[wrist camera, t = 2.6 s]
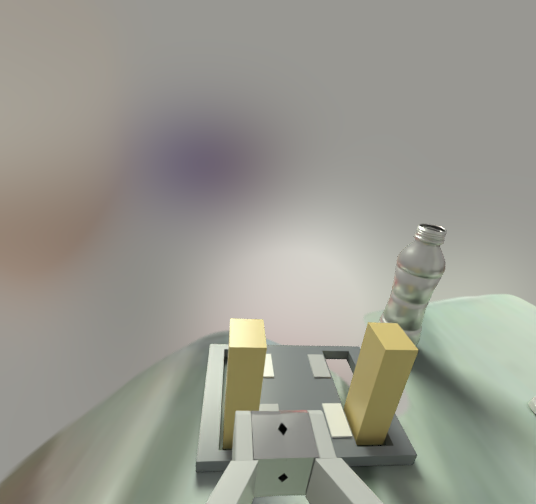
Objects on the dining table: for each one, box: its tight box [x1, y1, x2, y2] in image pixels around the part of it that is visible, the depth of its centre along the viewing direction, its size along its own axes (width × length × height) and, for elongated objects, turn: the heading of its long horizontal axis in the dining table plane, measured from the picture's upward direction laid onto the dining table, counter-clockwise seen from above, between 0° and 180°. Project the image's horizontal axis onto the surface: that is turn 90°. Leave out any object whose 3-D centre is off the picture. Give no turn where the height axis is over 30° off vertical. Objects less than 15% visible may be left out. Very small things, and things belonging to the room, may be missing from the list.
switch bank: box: [196, 344, 417, 472], centre depth 37 cm, size 16×22×2 cm
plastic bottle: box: [378, 223, 447, 346], centre depth 45 cm, size 6×7×20 cm
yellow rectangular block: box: [344, 322, 419, 445], centre depth 32 cm, size 4×3×13 cm
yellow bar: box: [223, 319, 267, 449], centre depth 30 cm, size 4×3×13 cm
